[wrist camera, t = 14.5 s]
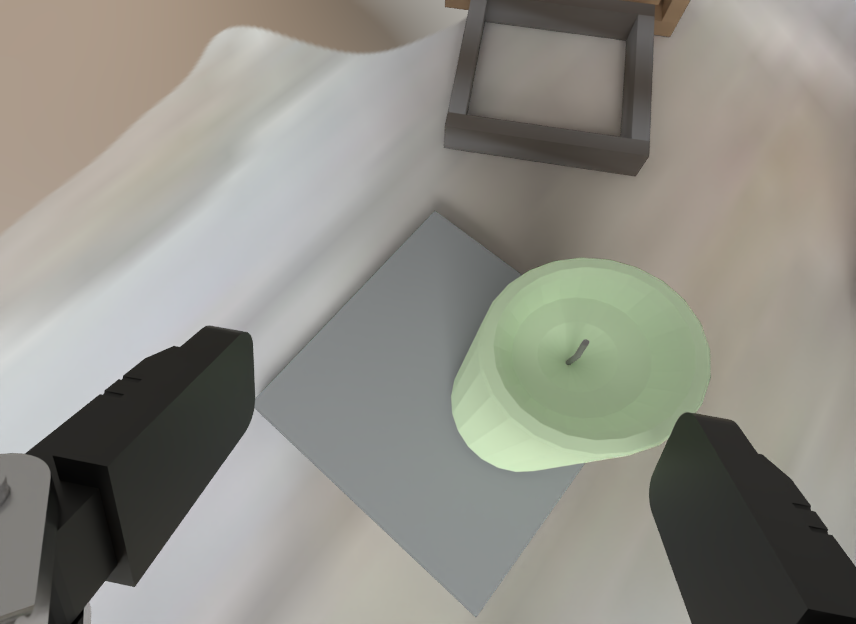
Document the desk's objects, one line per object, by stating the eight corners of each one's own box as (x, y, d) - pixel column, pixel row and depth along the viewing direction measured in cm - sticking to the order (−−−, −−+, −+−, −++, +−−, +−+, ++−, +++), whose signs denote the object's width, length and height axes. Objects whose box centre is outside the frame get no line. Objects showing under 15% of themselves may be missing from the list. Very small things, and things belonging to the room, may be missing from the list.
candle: (432, 443, 18) (457, 404, 10) (473, 322, 19) (523, 210, 12) (563, 493, 17) (695, 493, 10) (594, 365, 19) (726, 279, 11)
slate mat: (434, 219, 22) (434, 210, 21) (642, 374, 20) (650, 370, 19) (257, 406, 19) (250, 404, 18) (473, 611, 17) (476, 617, 16)
